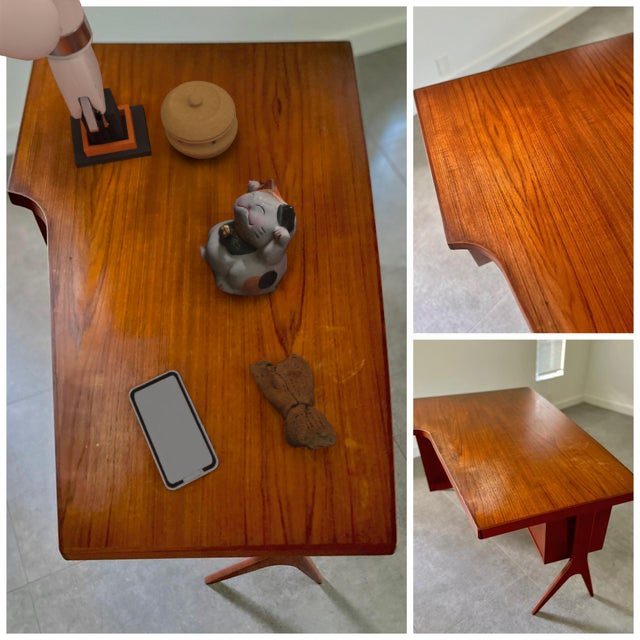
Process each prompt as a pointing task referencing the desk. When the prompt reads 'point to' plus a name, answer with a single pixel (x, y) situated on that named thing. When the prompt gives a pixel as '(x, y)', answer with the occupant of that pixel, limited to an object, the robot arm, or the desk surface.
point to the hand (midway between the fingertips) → (105, 126)
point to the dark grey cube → (108, 116)
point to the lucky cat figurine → (252, 242)
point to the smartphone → (173, 430)
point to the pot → (199, 119)
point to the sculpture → (294, 401)
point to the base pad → (115, 151)
